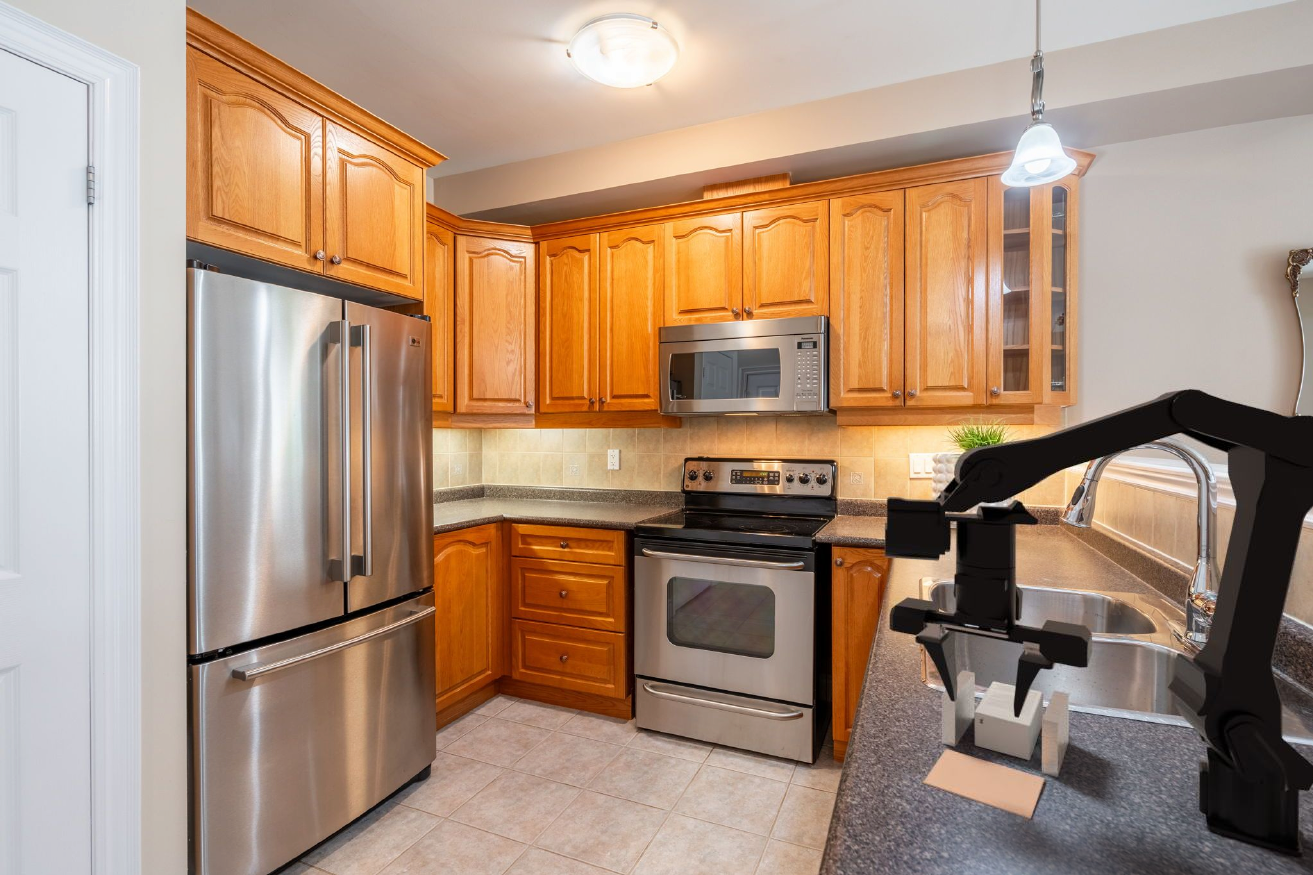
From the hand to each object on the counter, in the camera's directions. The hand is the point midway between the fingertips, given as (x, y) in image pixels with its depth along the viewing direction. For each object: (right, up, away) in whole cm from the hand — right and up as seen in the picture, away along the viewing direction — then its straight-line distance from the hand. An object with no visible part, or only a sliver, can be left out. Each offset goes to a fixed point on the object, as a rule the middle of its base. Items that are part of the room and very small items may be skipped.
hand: (984, 707), depth 68 cm
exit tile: (0, -8, 0) cm, 8 cm away
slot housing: (+7, -8, +9) cm, 14 cm away
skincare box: (+13, -6, +16) cm, 21 cm away
